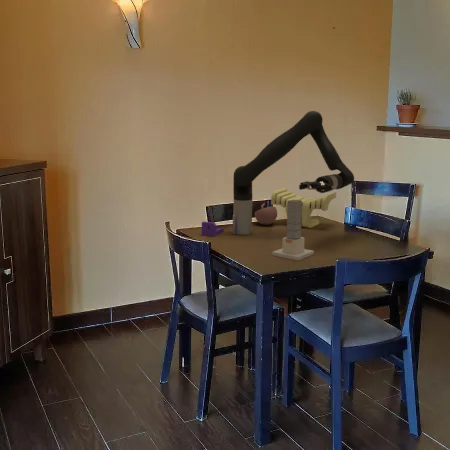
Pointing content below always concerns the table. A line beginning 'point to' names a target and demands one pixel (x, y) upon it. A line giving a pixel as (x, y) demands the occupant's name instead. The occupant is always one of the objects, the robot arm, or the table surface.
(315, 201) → the slatted curved stool
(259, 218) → the mortar and pestle
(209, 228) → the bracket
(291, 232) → the column
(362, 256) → the table surface
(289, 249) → the stand
